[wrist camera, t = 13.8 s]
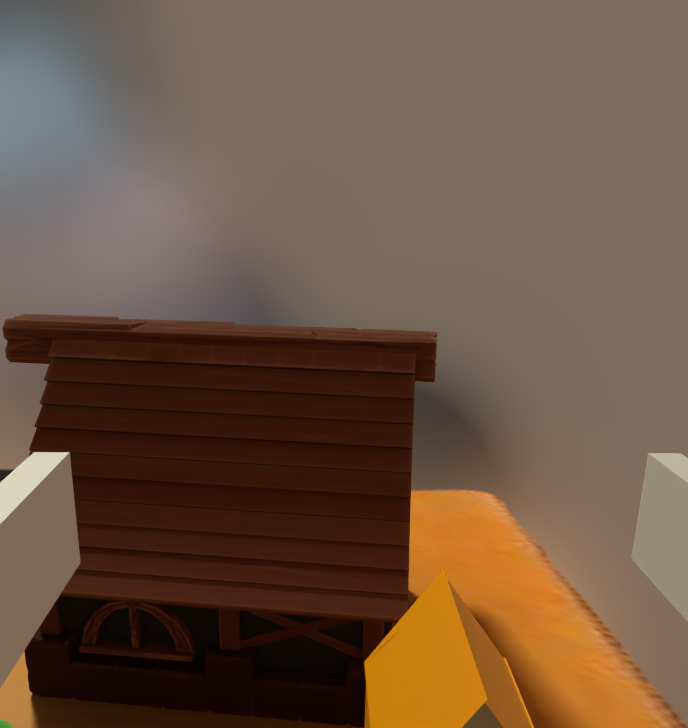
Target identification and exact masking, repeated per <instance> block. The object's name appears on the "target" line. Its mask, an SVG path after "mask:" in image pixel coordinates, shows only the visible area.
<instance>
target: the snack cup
mask: <svg viewBox="0 0 688 728" xmlns="http://www.w3.org/2000/svg"><path fill="white" fill-rule="evenodd" d="M0 728H14V727H12V726H11V725H10V724H8V723H7V722H5V721H3V720H0Z"/></svg>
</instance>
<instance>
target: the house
mask: <svg viewBox="0 0 688 728" xmlns="http://www.w3.org/2000/svg"><path fill="white" fill-rule="evenodd" d="M3 334H4V338H5V339H6V340H7V341H8V343H7V346H6V349H5V350H6V358H7V359H8V360H9V361H10V362H20V363H43V364H49V367H48V370H47V373H46V375H45V378H44V380H45V381H47V385H46V387H45V390H44V393H43V396H42V399H41V402H40V403H41V404H42V405H43V406H42V408H41V411H40V413H39V416H38V419H37V421H36V424H35V427H37V430H36V432H35V435H34V438H33V441H32V443H31V446H30V448H29V450H31V452H30V454H29V456H30V455H32V454H33V453H34V452H70V461H71V471H72V481H73V491H74V501H75V511H76V521H77V532H78V542H79V552H80V562H81V563H80V564H79V566H78V568H77V569H76V571H75V572H74V574H73V575H72V577H71V578H70V580H69V582H68V583H67V585H66V586H65V588H64V589H63V591H62V592H61V594H60V596H59V597H58V599H57V600H56V602H55V603H54V605H53V606H52V608H51V610H50V611H49V613H48V614H47V616H46V617H45V619H44V620H43V622H42V624H41V625H40V627H39V628H38V630H37V631H36V633H35V634H34V636H33V638H32V639H31V641H30V642H29V644H28V645H27V647H26V649H25V658H26V665H27V669H28V681H29V688H30V691H31V692H32V693H34V694H36V695H38V696H44V697H54V698H65V699H70V698H75V699H76V700H86V701H96V702H106V703H120V704H127V705H138V706H148V707H159V708H161V707H164V708H169V709H179V710H190V711H200V712H206V711H207V709H210V710H212V711H213V712H215V713H221V714H232V715H242V716H250V715H252V714H253V715H254V716H256V717H263V718H273V719H284V720H294V721H299V719H300V720H301V721H305V722H315V723H325V724H336V725H345V724H346V722H347V723H349V724H352V725H354V726H357V727H365V700H366V676H365V666H364V661H365V660H366V659H367V658H368V657H369V656H370V654H371V653H372V652H373V651H374V650H375V648H376V647H377V646H378V645H379V644H380V643H381V641H382V640H383V639H384V638H385V637H386V636H387V634H388V633H389V632H390V631H391V629H392V622H398V621H399V620H400V619H401V618H402V617H403V616H404V614H405V613H406V612H407V611H408V573H409V535H410V498H411V467H412V440H413V439H412V438H413V410H414V409H413V408H414V384H415V381H423V382H434V380H435V366H436V365H435V359H436V344H437V332H424V331H399V330H398V331H397V330H374V329H373V330H372V329H363V330H358V329H351V328H348V329H347V328H323V327H297V326H296V327H295V326H271V325H244V324H235V323H233V322H213V321H178V320H140V319H119V318H118V317H104V316H103V317H102V316H71V315H70V316H68V315H38V314H36V315H35V314H23V315H19V316H16V317H14V318H9V319H6V321H5V323H4V326H3Z"/></svg>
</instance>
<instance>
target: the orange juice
mask: <svg viewBox="0 0 688 728" xmlns="http://www.w3.org/2000/svg"><path fill="white" fill-rule="evenodd" d="M364 666H365V676H366V700H365V727H364V728H534V726H533V724H532V721H531V719H530V716H529V714H528V711H527V709H526V706H525V704H524V702H523V699H522V697H521V694H520V692H519V689H518V687H517V684H516V682H515V679H514V677H513V675H512V672H511V670H510V667H509V665H508V662H507V660H506V657H502V655H501V654H500V652H499V651H498V650H497V648H496V647H495V645H494V644H493V643H492V641H491V640H490V638H489V637H488V636H487V634H486V633H485V631H484V630H483V629H482V627H481V626H480V624H479V623H478V622H477V620H476V619H475V617H474V616H473V615H472V613H471V612H470V610H469V609H468V608H467V606H466V605H465V603H464V602H463V601H462V599H461V598H460V596H459V595H458V594H457V592H456V591H455V589H454V588H453V587H452V585H451V584H450V582H449V581H448V580H447V577H446V574H445V571H444V569H443V570H442V571H441V572H440V573H439V574H438V575H437V577H436V578H435V579H434V580H433V581H432V583H431V584H430V585H429V586H428V587H427V588H426V590H425V591H424V592H423V593H422V594H421V596H420V597H419V598H418V599H417V600H416V601H415V603H414V604H413V605H412V606H411V607H410V608H409V610H408V611H407V612H406V613H405V614H404V616H403V617H402V618H401V619H400V620H399V621H398V623H397V624H396V625H395V626H394V627H393V628H392V630H391V631H390V632H389V633H388V634H387V636H386V637H385V638H384V639H383V640H382V641H381V643H380V644H379V645H378V646H377V647H376V648H375V650H374V651H373V652H372V653H371V654H370V656H369V657H368V658H367V659H366V660H365V661H364Z"/></svg>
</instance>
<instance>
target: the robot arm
mask: <svg viewBox="0 0 688 728" xmlns="http://www.w3.org/2000/svg"><path fill="white" fill-rule="evenodd" d="M631 559H632V560H633V561H634V562H635V563H636V564H637V565H638V566H639V568H640V569H641V570H642V571H643V572H644V573H645V574H646V576H647V577H648V578H649V579H650V580H651V581H652V582H653V583H654V584H655V586H656V587H657V588H658V589H659V590H660V591H661V592H662V594H663V595H664V596H665V597H666V598H667V599H668V600H669V601H670V602H671V604H672V605H673V606H674V607H675V608H676V609H677V610H678V611H679V613H680V614H681V615H682V616H683V617H684V618H685V619H686V620H687V622H688V458H686V457H685V456H684V455H682V454H680V453H648V458H647V465H646V471H645V477H644V483H643V489H642V496H641V502H640V508H639V514H638V521H637V527H636V533H635V539H634V545H633V552H632V558H631ZM80 563H81V562H80V552H79V542H78V532H77V521H76V511H75V501H74V491H73V481H72V471H71V461H70V452H34V453H33V454H32V455H30V456H29V457H28V458H27V459H26V460H25V461H24V462H23V463H22V464H20V465H19V466H18V467H17V468H16V469H15V470H14V471H13V472H12V473H10V474H9V475H8V476H7V477H6V478H5V479H4V480H3V481H2V482H0V687H1V686H2V684H3V683H4V681H5V680H6V678H7V677H8V675H9V673H10V672H11V670H12V669H13V667H14V666H15V664H16V663H17V661H18V659H19V658H20V656H21V655H22V653H23V652H24V650H25V649H26V647H27V645H28V644H29V642H30V641H31V639H32V638H33V636H34V634H35V633H36V631H37V630H38V628H39V627H40V625H41V624H42V622H43V620H44V619H45V617H46V616H47V614H48V613H49V611H50V610H51V608H52V606H53V605H54V603H55V602H56V600H57V599H58V597H59V596H60V594H61V592H62V591H63V589H64V588H65V586H66V585H67V583H68V582H69V580H70V578H71V577H72V575H73V574H74V572H75V571H76V569H77V568H78V566H79V564H80Z"/></svg>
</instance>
